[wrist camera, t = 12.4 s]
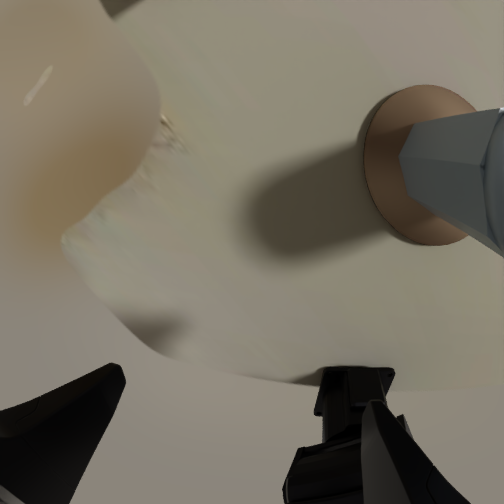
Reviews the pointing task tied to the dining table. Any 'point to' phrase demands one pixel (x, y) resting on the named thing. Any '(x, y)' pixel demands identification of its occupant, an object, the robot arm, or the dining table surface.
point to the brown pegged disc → (388, 165)
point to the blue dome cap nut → (460, 172)
